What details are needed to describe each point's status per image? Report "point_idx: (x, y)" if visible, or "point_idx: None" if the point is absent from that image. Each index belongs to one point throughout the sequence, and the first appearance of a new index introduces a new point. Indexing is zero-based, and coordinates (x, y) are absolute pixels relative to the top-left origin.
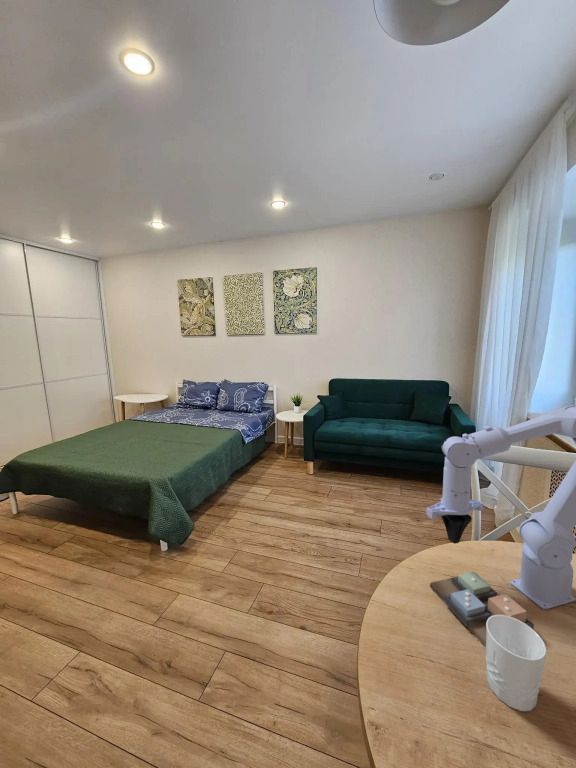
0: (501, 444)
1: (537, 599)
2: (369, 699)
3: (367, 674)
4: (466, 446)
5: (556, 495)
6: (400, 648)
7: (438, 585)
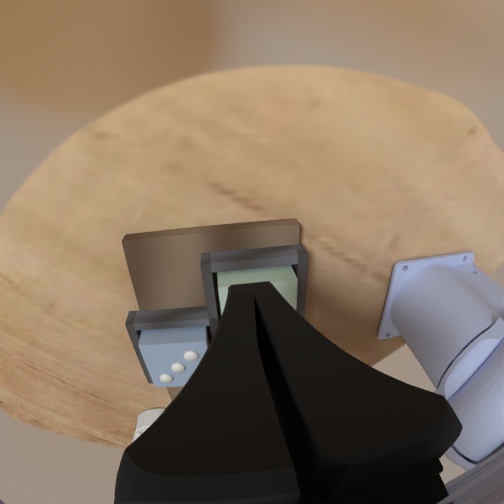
0: None
1: (391, 322)
2: None
3: None
4: None
5: None
6: (19, 355)
7: (145, 256)
